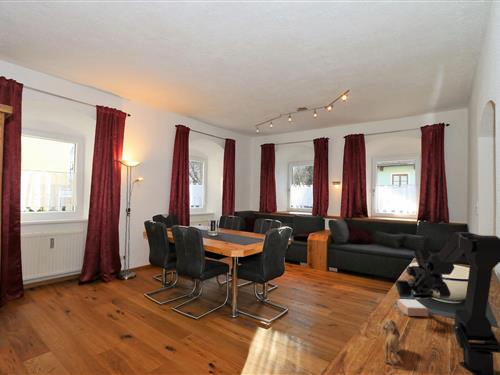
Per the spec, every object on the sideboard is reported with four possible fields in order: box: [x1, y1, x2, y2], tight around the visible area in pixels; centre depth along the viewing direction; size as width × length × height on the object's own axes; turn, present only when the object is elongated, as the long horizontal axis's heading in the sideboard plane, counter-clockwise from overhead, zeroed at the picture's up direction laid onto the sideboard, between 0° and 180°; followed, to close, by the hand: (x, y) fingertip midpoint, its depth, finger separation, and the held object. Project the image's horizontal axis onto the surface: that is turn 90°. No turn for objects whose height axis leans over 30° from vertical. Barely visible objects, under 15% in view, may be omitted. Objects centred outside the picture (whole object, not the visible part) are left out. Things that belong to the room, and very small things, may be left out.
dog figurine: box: [380, 318, 401, 368], centre depth 88 cm, size 15×5×9 cm, turn 158°
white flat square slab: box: [393, 304, 429, 317], centre depth 122 cm, size 10×10×1 cm
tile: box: [396, 298, 429, 317], centre depth 120 cm, size 3×8×10 cm
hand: (415, 298), depth 117 cm, fingers closed
